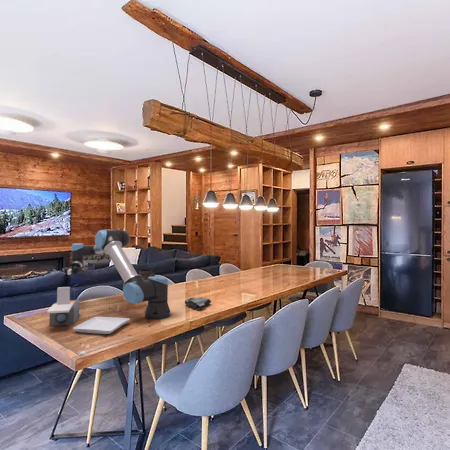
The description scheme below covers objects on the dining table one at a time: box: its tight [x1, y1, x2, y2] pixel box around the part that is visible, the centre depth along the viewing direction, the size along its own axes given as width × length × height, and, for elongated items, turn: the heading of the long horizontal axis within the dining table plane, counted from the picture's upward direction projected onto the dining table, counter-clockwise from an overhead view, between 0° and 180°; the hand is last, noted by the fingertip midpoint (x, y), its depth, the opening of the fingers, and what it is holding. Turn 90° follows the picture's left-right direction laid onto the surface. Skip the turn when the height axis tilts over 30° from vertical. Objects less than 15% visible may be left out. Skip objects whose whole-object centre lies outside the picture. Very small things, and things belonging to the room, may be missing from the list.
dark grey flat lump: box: [184, 296, 212, 311], centre depth 216 cm, size 16×20×5 cm
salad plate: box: [72, 316, 131, 335], centre depth 169 cm, size 21×21×3 cm
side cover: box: [46, 286, 74, 314], centre depth 171 cm, size 16×10×10 cm, turn 16°
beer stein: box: [138, 268, 156, 280], centre depth 245 cm, size 15×11×20 cm
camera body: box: [49, 299, 80, 327], centre depth 181 cm, size 20×12×9 cm, turn 16°
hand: (68, 272), depth 194 cm, fingers closed
